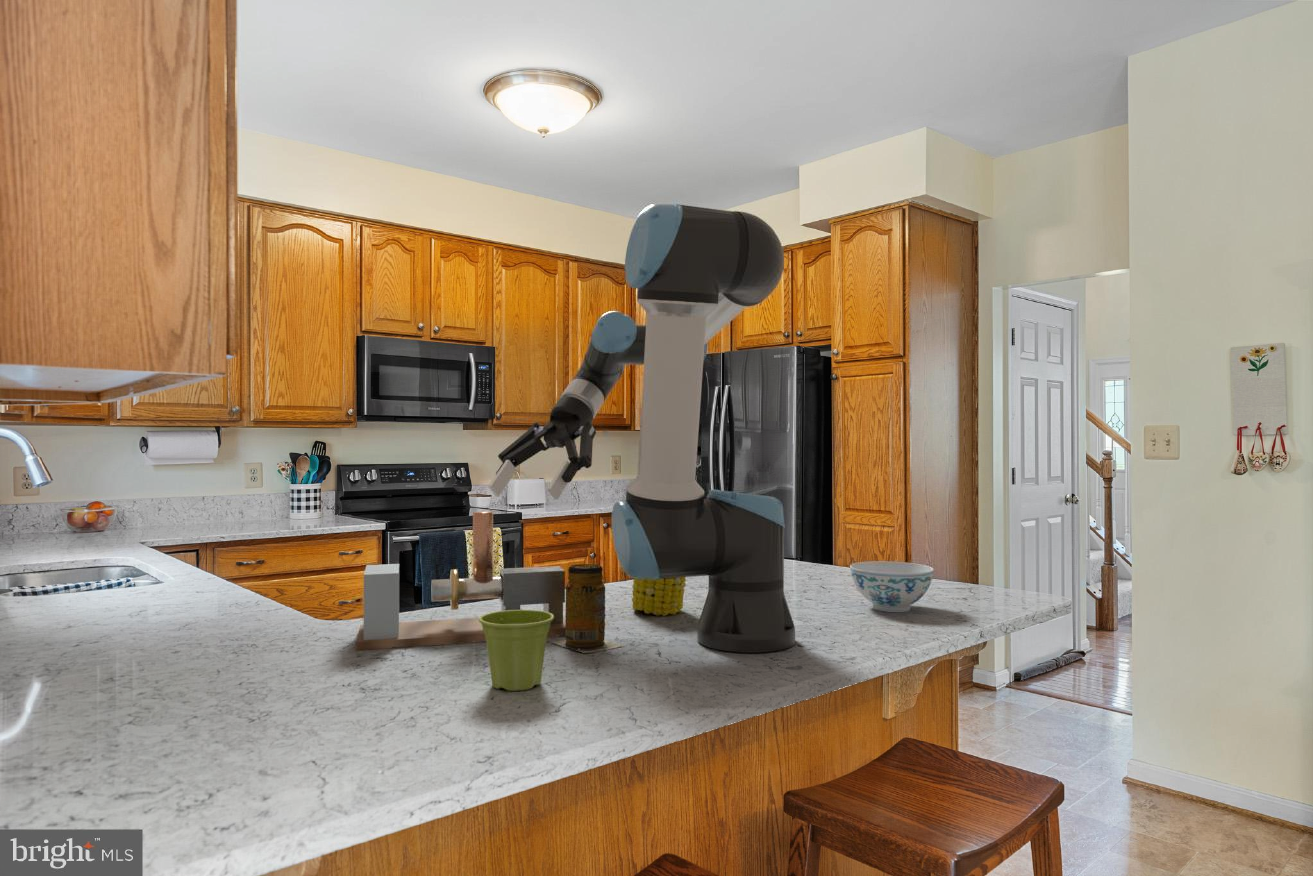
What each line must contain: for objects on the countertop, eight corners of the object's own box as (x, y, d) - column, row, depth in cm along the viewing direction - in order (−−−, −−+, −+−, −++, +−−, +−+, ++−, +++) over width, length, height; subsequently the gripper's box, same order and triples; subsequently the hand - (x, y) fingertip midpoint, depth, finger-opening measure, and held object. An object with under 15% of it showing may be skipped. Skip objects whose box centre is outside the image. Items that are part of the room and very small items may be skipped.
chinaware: (880, 597, 161) (880, 559, 161) (949, 609, 149) (949, 567, 149) (833, 607, 151) (833, 566, 151) (904, 621, 140) (904, 576, 140)
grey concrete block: (559, 616, 137) (559, 566, 137) (564, 623, 132) (565, 570, 132) (499, 620, 134) (499, 568, 134) (503, 627, 129) (503, 573, 129)
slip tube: (555, 599, 138) (555, 509, 138) (562, 606, 132) (562, 511, 132) (431, 606, 132) (431, 511, 132) (432, 614, 125) (432, 515, 126)
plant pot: (473, 678, 105) (473, 611, 105) (544, 671, 109) (544, 606, 109) (484, 699, 97) (484, 627, 97) (561, 691, 100) (561, 621, 100)
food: (631, 615, 151) (684, 618, 151) (630, 614, 140) (688, 617, 140) (635, 534, 155) (687, 537, 155) (634, 526, 143) (691, 529, 143)
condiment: (591, 636, 128) (591, 561, 128) (623, 647, 122) (623, 567, 122) (552, 643, 124) (552, 565, 124) (583, 655, 117) (583, 572, 117)
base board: (558, 619, 141) (558, 612, 141) (572, 635, 129) (572, 627, 129) (360, 632, 131) (360, 624, 131) (355, 650, 120) (356, 642, 120)
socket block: (399, 623, 132) (399, 563, 132) (398, 637, 122) (398, 573, 122) (366, 625, 130) (366, 565, 130) (363, 640, 121) (363, 574, 121)
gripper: (639, 422, 148) (588, 510, 135) (535, 423, 161) (481, 504, 149) (622, 392, 143) (568, 480, 131) (517, 396, 157) (459, 476, 144)
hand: (522, 493), depth 140 cm, fingers open, 13 cm apart
